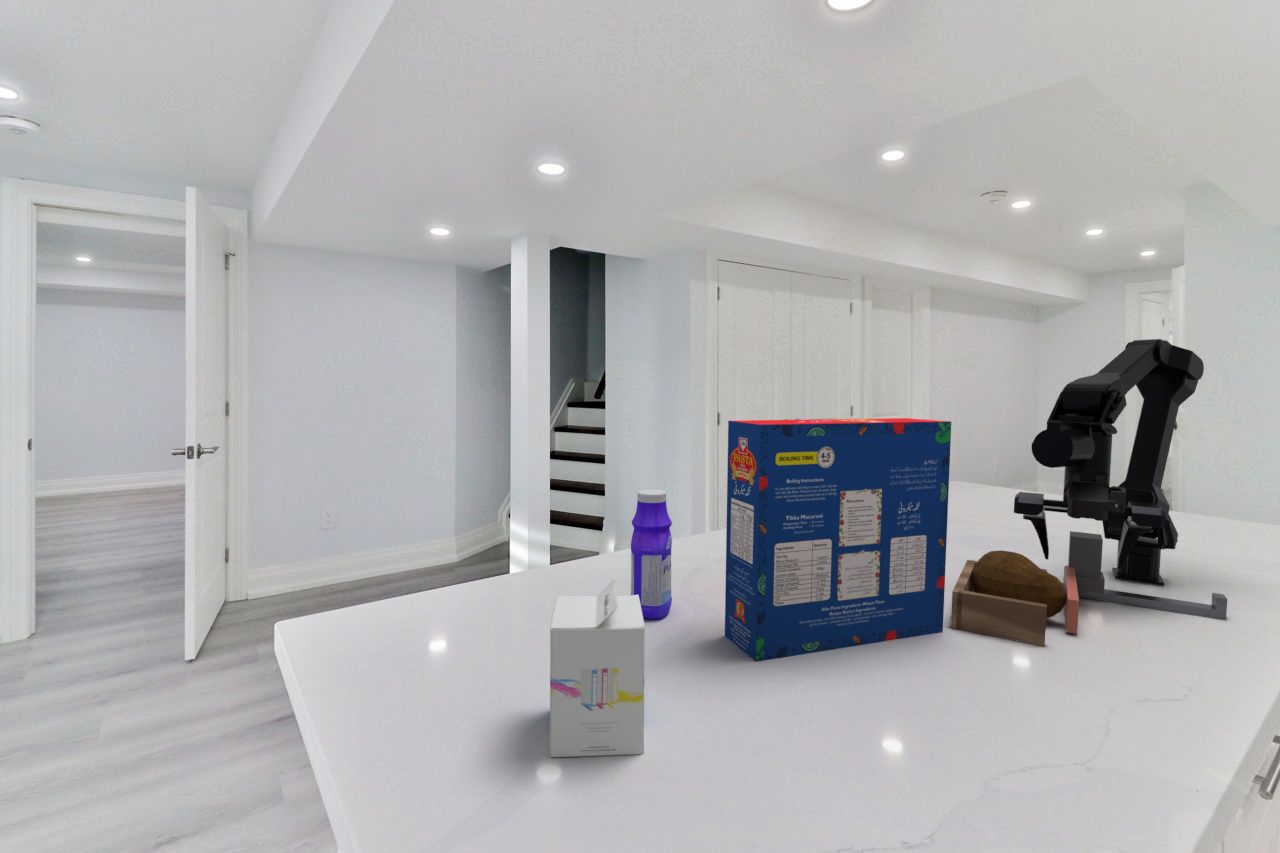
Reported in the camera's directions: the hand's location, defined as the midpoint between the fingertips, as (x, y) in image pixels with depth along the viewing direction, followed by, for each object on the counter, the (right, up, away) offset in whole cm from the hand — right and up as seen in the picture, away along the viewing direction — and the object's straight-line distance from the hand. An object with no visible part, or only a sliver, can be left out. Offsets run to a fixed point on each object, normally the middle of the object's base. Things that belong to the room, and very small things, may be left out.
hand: (1082, 563), depth 97 cm
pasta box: (-43, -6, -16) cm, 46 cm away
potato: (-16, -6, -8) cm, 18 cm away
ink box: (-73, -7, -39) cm, 83 cm away
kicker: (-5, -5, -7) cm, 10 cm away
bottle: (-67, -5, -8) cm, 68 cm away
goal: (-17, -6, -9) cm, 20 cm away
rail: (+5, -5, -3) cm, 7 cm away
